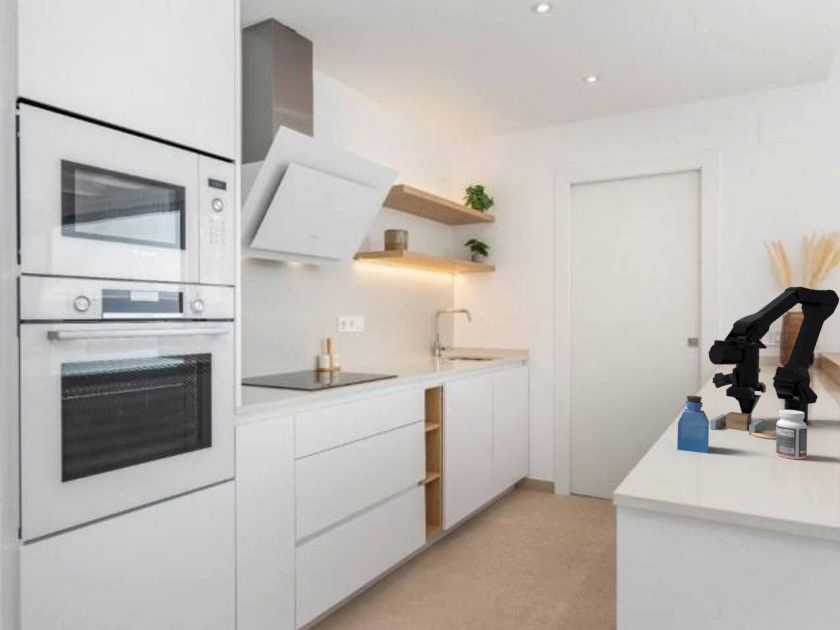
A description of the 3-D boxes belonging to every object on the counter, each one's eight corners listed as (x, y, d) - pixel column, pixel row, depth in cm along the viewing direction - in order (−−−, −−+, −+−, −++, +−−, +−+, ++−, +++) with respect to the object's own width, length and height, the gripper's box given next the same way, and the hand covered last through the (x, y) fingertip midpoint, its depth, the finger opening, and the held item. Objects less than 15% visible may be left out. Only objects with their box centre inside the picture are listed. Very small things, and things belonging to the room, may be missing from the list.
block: (730, 426, 161) (731, 411, 161) (751, 429, 157) (751, 414, 157) (725, 428, 157) (726, 414, 157) (746, 431, 154) (746, 416, 154)
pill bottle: (797, 453, 130) (798, 409, 130) (812, 460, 125) (813, 414, 124) (770, 452, 131) (771, 408, 131) (783, 459, 125) (785, 413, 125)
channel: (722, 422, 164) (722, 413, 164) (764, 428, 157) (764, 419, 157) (710, 429, 155) (710, 419, 155) (754, 435, 148) (754, 425, 148)
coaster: (754, 431, 154) (754, 428, 154) (789, 436, 148) (789, 433, 148) (747, 435, 148) (747, 433, 148) (783, 441, 142) (783, 438, 142)
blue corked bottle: (677, 449, 132) (678, 397, 132) (679, 444, 138) (680, 393, 138) (707, 453, 130) (708, 399, 129) (708, 447, 135) (709, 396, 135)
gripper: (724, 360, 175) (723, 411, 175) (706, 364, 161) (705, 420, 161) (766, 363, 168) (765, 417, 168) (751, 367, 154) (750, 426, 154)
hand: (745, 420), depth 163 cm, fingers closed
